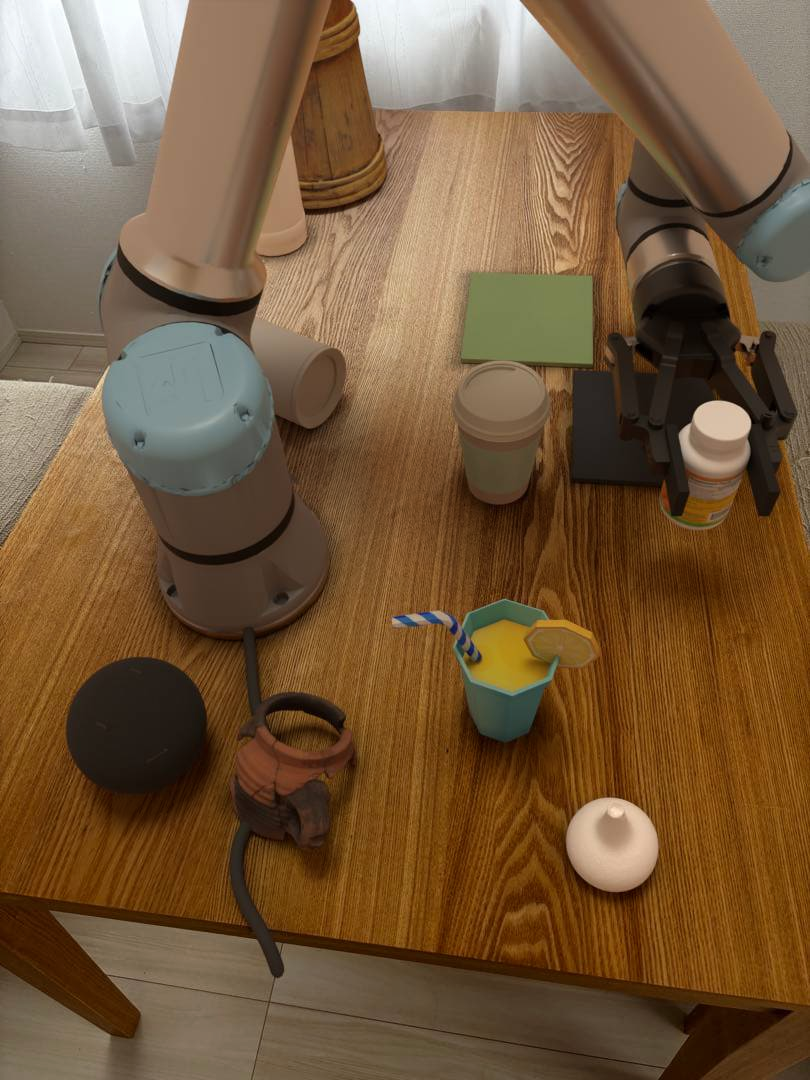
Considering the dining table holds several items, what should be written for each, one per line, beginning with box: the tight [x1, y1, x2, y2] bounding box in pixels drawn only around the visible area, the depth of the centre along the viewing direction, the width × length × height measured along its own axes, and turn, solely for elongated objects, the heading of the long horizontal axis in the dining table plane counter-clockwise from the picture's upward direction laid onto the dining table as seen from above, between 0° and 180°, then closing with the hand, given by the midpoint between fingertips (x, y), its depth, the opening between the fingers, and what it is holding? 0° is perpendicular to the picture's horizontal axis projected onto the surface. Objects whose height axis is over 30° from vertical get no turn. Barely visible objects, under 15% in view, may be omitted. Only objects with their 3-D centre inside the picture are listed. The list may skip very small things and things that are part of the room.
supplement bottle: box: [658, 400, 751, 531], centre depth 65 cm, size 5×5×10 cm
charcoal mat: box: [571, 369, 715, 488], centre depth 86 cm, size 15×14×1 cm
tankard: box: [291, 0, 388, 210], centre depth 109 cm, size 18×24×25 cm
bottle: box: [256, 135, 308, 257], centre depth 97 cm, size 8×8×30 cm
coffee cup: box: [450, 360, 552, 506], centre depth 78 cm, size 8×9×12 cm
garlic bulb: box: [565, 797, 659, 893], centre depth 59 cm, size 6×6×8 cm
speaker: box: [65, 656, 208, 795], centre depth 64 cm, size 10×10×10 cm
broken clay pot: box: [229, 691, 358, 852], centre depth 64 cm, size 12×10×8 cm
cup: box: [391, 598, 601, 744], centre depth 63 cm, size 14×8×15 cm, turn 90°
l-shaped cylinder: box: [250, 315, 347, 429], centre depth 88 cm, size 18×11×20 cm
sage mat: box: [460, 271, 594, 369], centre depth 97 cm, size 15×14×1 cm
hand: (724, 503), depth 61 cm, fingers closed on supplement bottle, 5 cm apart
